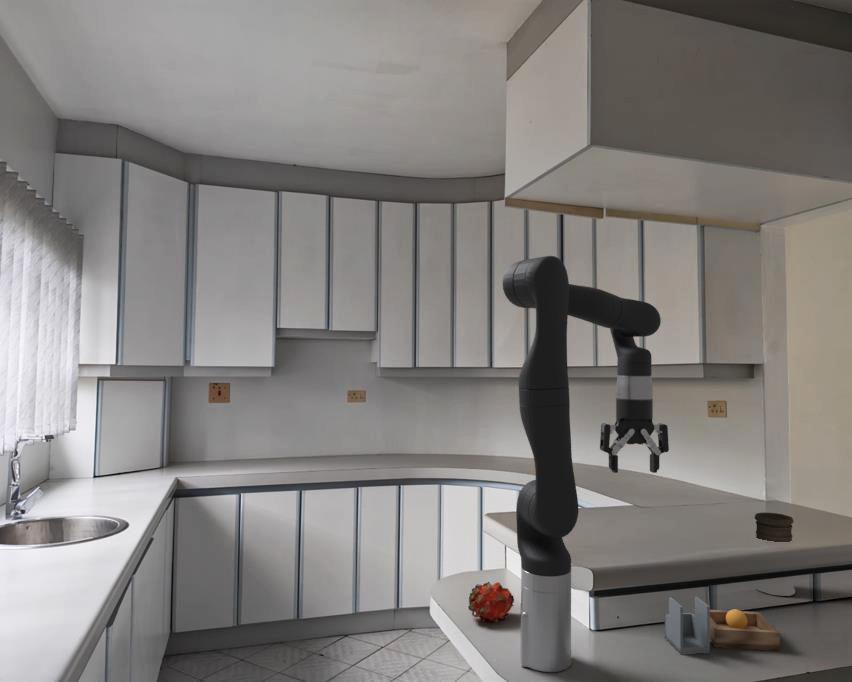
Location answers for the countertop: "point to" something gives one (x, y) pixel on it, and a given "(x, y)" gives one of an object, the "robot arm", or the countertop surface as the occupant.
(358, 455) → the countertop surface
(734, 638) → the tray
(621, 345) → the robot arm
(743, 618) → the ball
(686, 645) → the holder
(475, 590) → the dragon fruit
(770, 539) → the container
